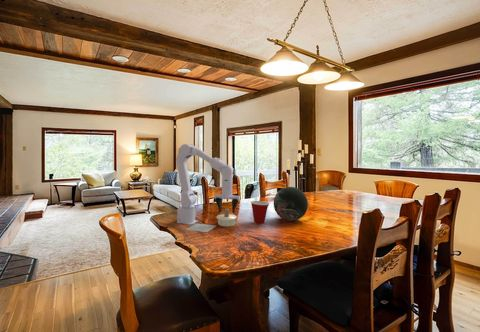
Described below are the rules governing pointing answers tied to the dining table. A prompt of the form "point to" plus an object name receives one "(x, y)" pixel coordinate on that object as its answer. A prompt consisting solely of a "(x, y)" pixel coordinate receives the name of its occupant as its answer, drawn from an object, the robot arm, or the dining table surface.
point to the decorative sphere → (290, 203)
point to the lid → (226, 216)
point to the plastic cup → (259, 211)
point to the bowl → (226, 222)
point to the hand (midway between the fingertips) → (226, 212)
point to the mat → (201, 227)
